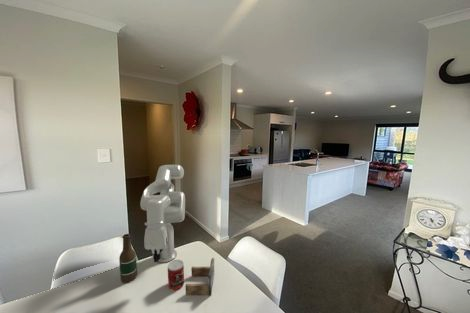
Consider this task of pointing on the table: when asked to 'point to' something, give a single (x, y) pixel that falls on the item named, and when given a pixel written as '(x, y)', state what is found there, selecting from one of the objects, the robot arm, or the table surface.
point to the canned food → (175, 274)
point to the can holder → (201, 288)
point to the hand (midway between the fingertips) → (157, 260)
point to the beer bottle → (127, 261)
